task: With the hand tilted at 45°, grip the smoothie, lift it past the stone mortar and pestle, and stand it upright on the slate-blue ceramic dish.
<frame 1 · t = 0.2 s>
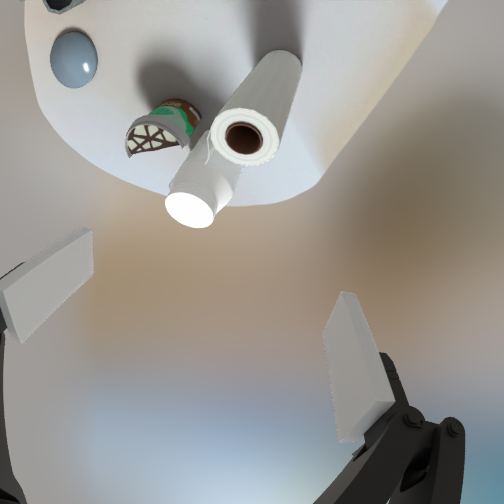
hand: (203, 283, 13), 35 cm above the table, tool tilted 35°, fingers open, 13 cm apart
food container: (173, 107, 43), on the table
dish: (74, 59, 34), on the table
jar: (219, 153, 50), on the table
paper towel roll: (277, 66, 33), on the table
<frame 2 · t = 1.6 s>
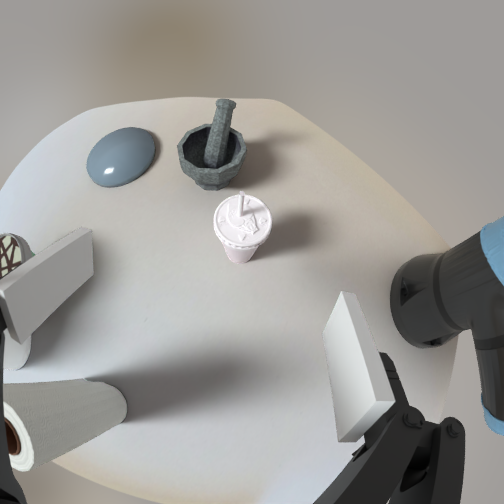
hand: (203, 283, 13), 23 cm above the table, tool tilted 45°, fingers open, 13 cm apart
food container: (48, 283, 34), on the table
dish: (120, 157, 43), on the table
jar: (10, 336, 30), on the table
smoothie: (239, 251, 39), on the table
paper towel roll: (107, 400, 30), on the table
mortar and pestle: (214, 172, 43), on the table
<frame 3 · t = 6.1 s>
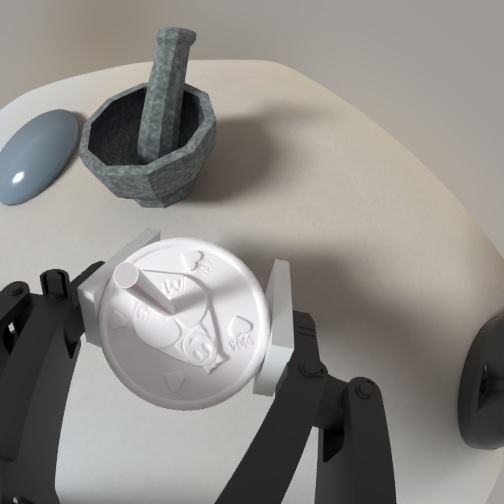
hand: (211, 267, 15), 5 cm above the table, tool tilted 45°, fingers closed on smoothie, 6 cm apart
dish: (33, 156, 22), on the table
smoothie: (202, 337, 18), on the table, touching gripper
mortar and pestle: (164, 172, 23), on the table
when the fingers open (7 cm above the table, at t = 13.1 s): smoothie drops 1 cm, resting on dish.
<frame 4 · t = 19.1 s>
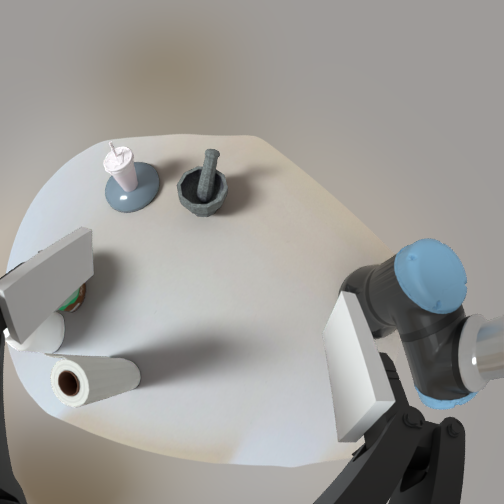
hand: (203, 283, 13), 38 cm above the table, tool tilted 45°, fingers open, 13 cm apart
food container: (78, 286, 48), on the table
dish: (132, 187, 57), on the table
jar: (45, 327, 44), on the table
smoothie: (130, 185, 56), point 1 cm above the table, touching dish
paper towel roll: (125, 371, 44), on the table
mortar and pestle: (205, 202, 58), on the table
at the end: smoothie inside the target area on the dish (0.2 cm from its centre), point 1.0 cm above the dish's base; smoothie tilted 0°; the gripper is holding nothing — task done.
